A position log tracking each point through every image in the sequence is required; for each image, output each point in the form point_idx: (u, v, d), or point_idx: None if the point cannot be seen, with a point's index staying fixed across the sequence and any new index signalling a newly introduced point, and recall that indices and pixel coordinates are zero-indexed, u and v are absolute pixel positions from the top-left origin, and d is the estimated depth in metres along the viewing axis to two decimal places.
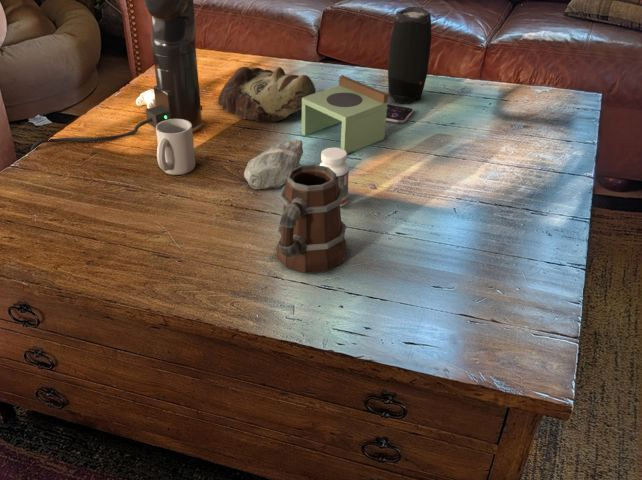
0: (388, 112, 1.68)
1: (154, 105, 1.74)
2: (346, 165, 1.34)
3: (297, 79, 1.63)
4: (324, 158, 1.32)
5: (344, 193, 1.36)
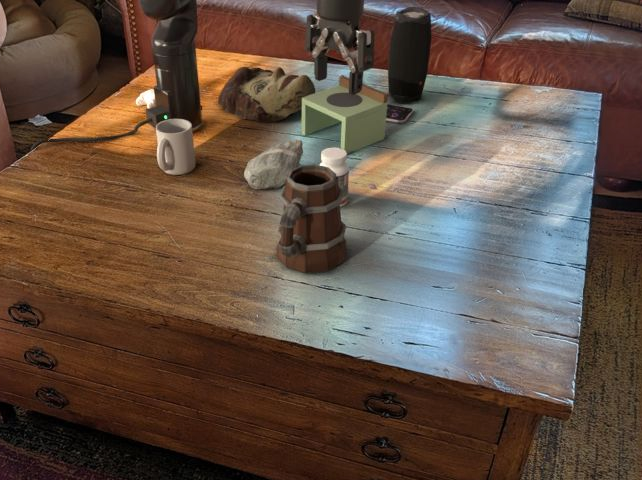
0: (388, 112, 1.68)
1: (154, 105, 1.74)
2: (346, 165, 1.34)
3: (297, 79, 1.63)
4: (324, 158, 1.32)
5: (344, 193, 1.36)
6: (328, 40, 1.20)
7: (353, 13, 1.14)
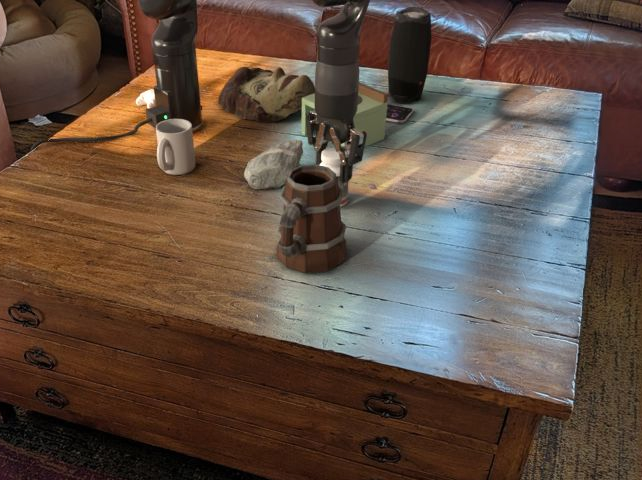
0: (388, 111, 1.68)
1: (154, 105, 1.74)
2: None
3: (297, 79, 1.63)
4: (324, 158, 1.32)
5: (344, 193, 1.36)
6: (325, 133, 1.31)
7: (348, 113, 1.24)
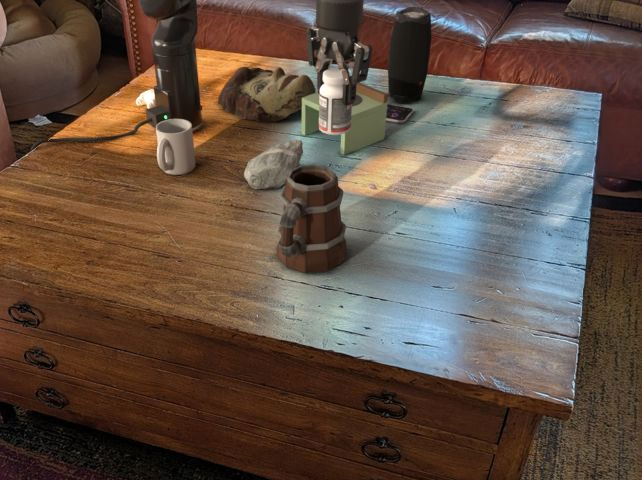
0: (388, 112, 1.68)
1: (154, 105, 1.74)
2: None
3: (297, 79, 1.63)
4: (326, 78, 1.22)
5: (347, 118, 1.26)
6: (327, 49, 1.21)
7: (352, 24, 1.15)
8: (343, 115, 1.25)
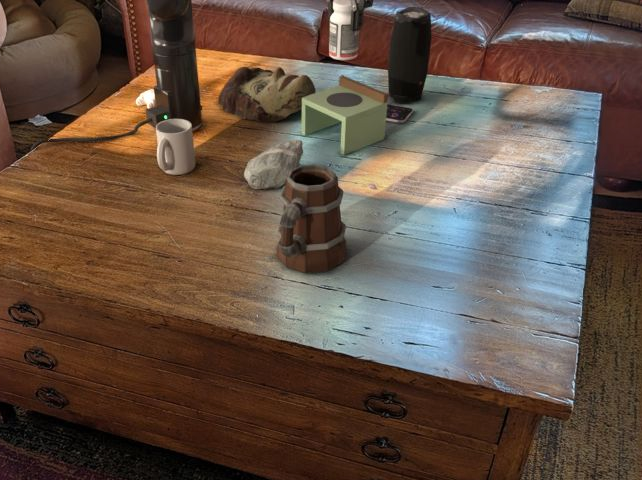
0: (388, 111, 1.68)
1: (154, 105, 1.74)
2: None
3: (297, 79, 1.63)
4: (336, 5, 1.35)
5: (355, 44, 1.39)
6: None
7: None
8: (351, 41, 1.38)
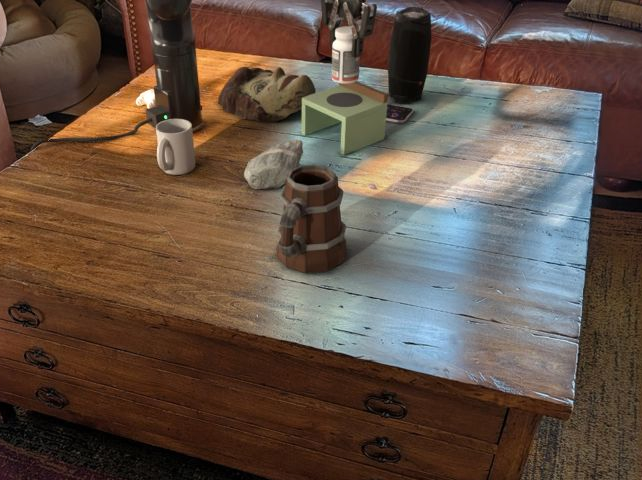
0: (388, 112, 1.68)
1: (154, 105, 1.74)
2: None
3: (297, 79, 1.63)
4: (338, 34, 1.45)
5: (356, 69, 1.49)
6: (338, 10, 1.44)
7: None
8: (352, 66, 1.48)
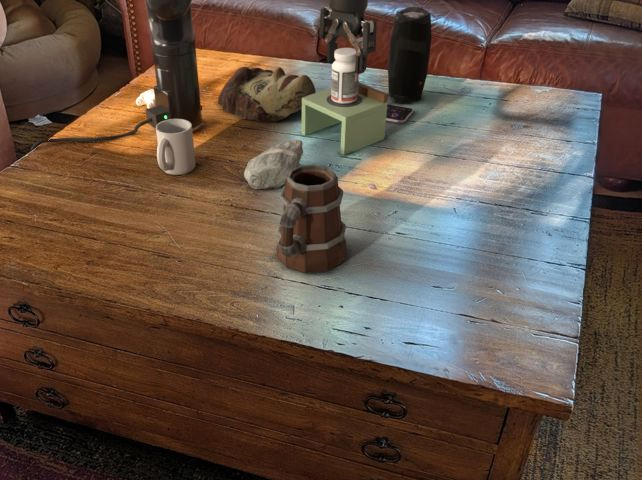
0: (388, 112, 1.68)
1: (154, 105, 1.74)
2: None
3: (297, 79, 1.63)
4: (337, 55, 1.48)
5: (355, 89, 1.52)
6: (338, 29, 1.46)
7: (359, 6, 1.40)
8: (351, 86, 1.51)
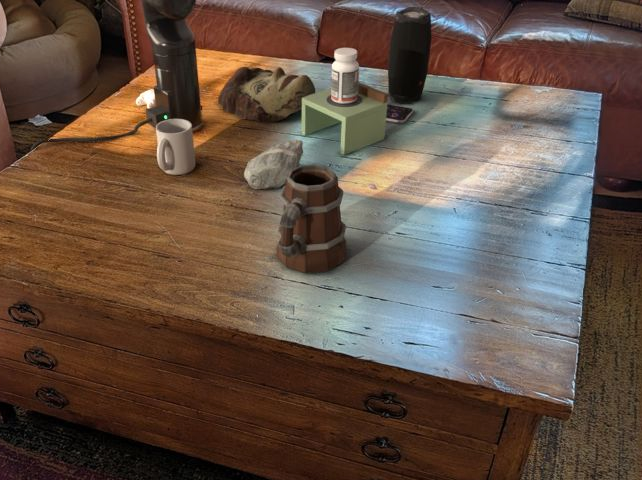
0: (388, 111, 1.68)
1: (154, 105, 1.74)
2: (356, 63, 1.50)
3: (297, 79, 1.63)
4: (337, 55, 1.48)
5: (355, 89, 1.52)
6: None
7: None
8: (351, 86, 1.51)
